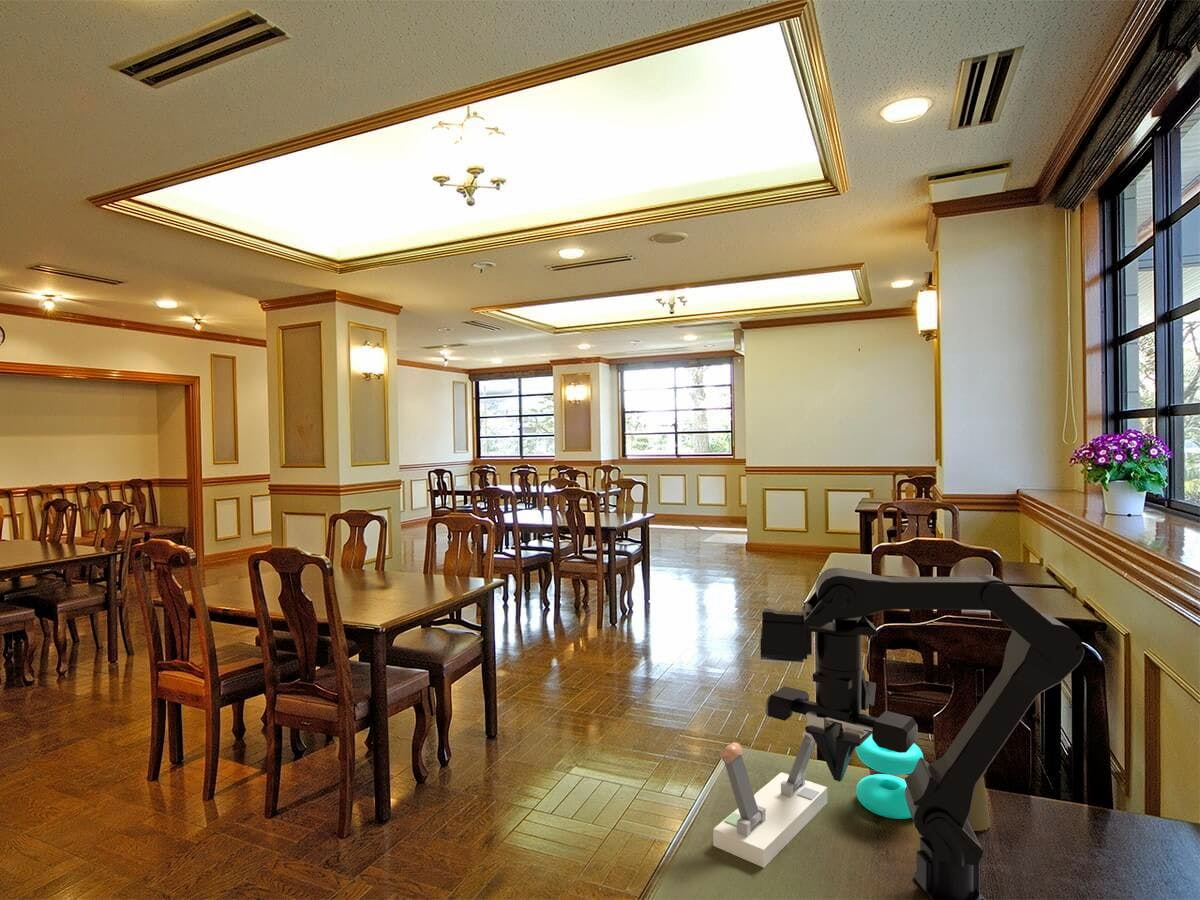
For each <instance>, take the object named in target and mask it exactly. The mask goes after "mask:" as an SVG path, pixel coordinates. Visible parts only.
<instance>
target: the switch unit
mask: <svg viewBox="0 0 1200 900" xmlns="http://www.w3.org/2000/svg"><path fill="white" fill-rule="evenodd" d="M789 775H790V774H788V773H786V772H780V773H779V774H777V775H776V776H775V777H774V778H772V779H771V780H770V781H768V783H767V784H765V785H764V786H763V787H762V788H760V789H759V790H757V792H756V793H755V794H754V793H753V794H754V798H755V801H756V804H757V807H758V811H759V813H760V814H761V820H760V821H759V822H758V823H757V824H756V825H755V826H754V827H753V828H752V829H751V822H750V821H747V820H745V819H742V818H741V816H740V812H739V809H738V808H736V809H735V810H734V811H732V812H731V813H730V815H728V816H727V817H725V818H724V819H723V820H722V821H721V822H719V823H718V824H717V825H716V826H715V827H714V828H713V829H712V831H713V835H712V836H713V838H712V840H713V842H712V844H713V845H712V846H713V847H715V848H718V849H720V850H722V851H724V852H727V853H729V854H732V855H733V856H736V857H738V858H741V859H743V860H745V861H747V862H750V863H753V864H754V865H757V866H759V867H761V868H766V867H767V865H768V864H769V863H770V862H771V861H773V859H774V858H776V856H777V855H778V854H779V853H780V852H781V851H782V850H783V849H784V848H785V847H786V846H787V845H788V844H789V843H790V842H791V841H792V840H793V839H794V838H795V836H797V835H798V834H799V833H800V831H802V829H804V828H805V826H806V825H807V824H808V823H809V822H810V821H811V820H813V818H814V817H815V816H816V815H817V814H818V813H819V812H820V811H821V810H822V809H823V808H824V807H825V806H826V805H827V804H828V786H824V785H821V784H819V783H816V782H812V781H810V780H806V772H804V774H803V777H802V783H801V784H800V785H799V786H798V787H797V788H796V789H794V790H793V784H792V783H789V782H786V781H787V780H788V777H789Z"/></svg>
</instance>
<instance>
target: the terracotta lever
mask: <svg viewBox="0 0 1200 900" xmlns="http://www.w3.org/2000/svg"><path fill="white" fill-rule="evenodd" d="M742 748H743V747H742V746H741V745H740V744H739V743H738V742H737V741H733V742H731V743H730V744H729V745H727V746H725V747H724V748H722V749H721V751H720V754H719V755H720V756H719V757H720V759H721V760H722V762H724V765H725V769H726V772H727V776H728V778H729V783H730V785H731V789H732V791H733V792H732V793H733V795H734V798H735V803H736V805H737V809H739V812H740V816H741V818H742V819H745V820H747V821H750V822H751V829H752V828H753V827H754V826H755V825H756V824H757V823H758V822H759V821H760V820H761V814H760V813H759V811H758V807H757V804H756V801H755V798H754V790H753V789H752V785H751V782H750V778H749V775H748V771H747V769H746V766H745V762H744V759H743V756H742V753H743V749H742Z"/></svg>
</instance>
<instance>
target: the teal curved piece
mask: <svg viewBox="0 0 1200 900" xmlns="http://www.w3.org/2000/svg"><path fill="white" fill-rule="evenodd" d="M855 752H856V755H857V757H858V758H859V761H860V762H862V763H863V764H864V765H866V766H867V767H868V768H870V769H872V770H874V771H876V772H879V773H877V774H876V773H875V774H871V775H866V776H865V777H863V778H861V779H860V780H859V781H858V782H857V784H856V788H855V795H856V798H857V800H858V801H859V803H860V804H861V806H863V807H864V808H865V809H866V810H867V811H870V812H871V813H873V814H875V815H878V816H880V817H881V816H882V817H884V818H889V819H893V820H894V819H895V820H896V819H897V820H903V819H904V820H905V819H910V818H912V817H911V814H910V811H909V808H908V806H907V802H906V799H905V789H906V786H907V785H906V782H905V780H904V779H905V778H904V779H903V778H901V777H899V776H903V775H910V774H911V773H912V772H913V771H914V769H915V767H916V764H917V762H918V760H919V759H920V758H923V759H924V753H923V752H922V750H921V748H920V747H919V746H918V744H916V743H914V744H913V745H912V746H911V747H910V748H909V750H908V751H907V752H906V753H899V752H895V751H892V750H888V749H884V748H881V747H878V746H877V744H876V743H875V742H874V741H873V739H872V734H871V735H870V736H869V737H868V738H867V739H866V740H865V741H864V742H863V743H862V744H861V745H860V746H856V747H855Z"/></svg>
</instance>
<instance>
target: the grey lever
mask: <svg viewBox="0 0 1200 900" xmlns="http://www.w3.org/2000/svg"><path fill="white" fill-rule="evenodd" d="M802 738H803V739H802V742H801V744H800V746H799V748H798V752H797V754H796V757H795V760H794V762H793V765H792V767H791V770H790V773H789V774H788V775H789V777H788V780H787V781H786V782H789V783H792V784H793V790H794V789H796V788H797V787H798V786H799V785H800V784H801V783H802V777H803V774H804V773H806V772H805V771H806V770H807V766H808V764H809V761H810V758H811V757H812V754H813V751H814V749H815V746H816V745H817V744H816V742H815V740H814V738H813V737H812V735H811V734H809V733H806V732H805V730H804V731H803V732H802Z"/></svg>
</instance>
